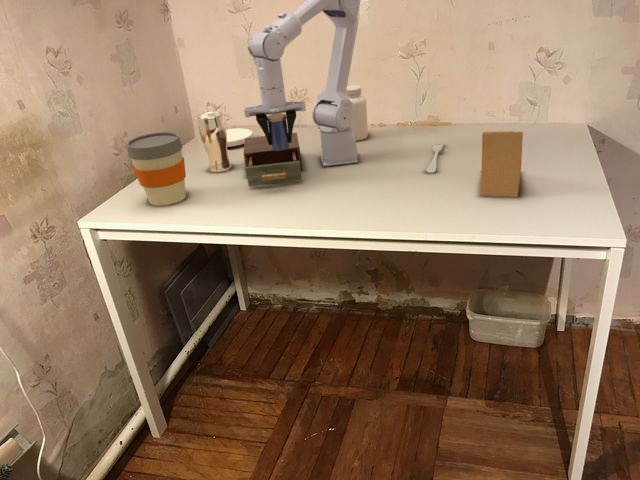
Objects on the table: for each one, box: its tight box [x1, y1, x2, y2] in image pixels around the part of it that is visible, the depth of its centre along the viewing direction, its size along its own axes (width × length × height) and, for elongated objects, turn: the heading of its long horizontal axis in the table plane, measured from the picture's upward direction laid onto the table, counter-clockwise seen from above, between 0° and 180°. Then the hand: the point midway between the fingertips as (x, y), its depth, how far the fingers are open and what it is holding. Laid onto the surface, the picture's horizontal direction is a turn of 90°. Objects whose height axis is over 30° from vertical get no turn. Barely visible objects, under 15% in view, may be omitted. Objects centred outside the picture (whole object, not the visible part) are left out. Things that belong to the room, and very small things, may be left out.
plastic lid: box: [226, 127, 254, 148], centre depth 181 cm, size 14×14×2 cm
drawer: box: [245, 150, 303, 187], centre depth 148 cm, size 17×13×5 cm
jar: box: [267, 113, 290, 151], centre depth 142 cm, size 5×5×8 cm
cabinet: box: [243, 132, 303, 172], centre depth 158 cm, size 14×15×7 cm
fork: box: [426, 144, 444, 174], centre depth 155 cm, size 3×21×3 cm, turn 167°
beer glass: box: [197, 111, 232, 173], centre depth 157 cm, size 7×7×15 cm
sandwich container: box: [480, 130, 524, 198], centre depth 134 cm, size 9×15×15 cm, turn 166°
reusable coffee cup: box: [126, 131, 187, 207], centre depth 141 cm, size 12×12×15 cm
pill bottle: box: [346, 85, 369, 142], centre depth 173 cm, size 8×8×15 cm
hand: (280, 142), depth 143 cm, fingers closed on jar, 4 cm apart
